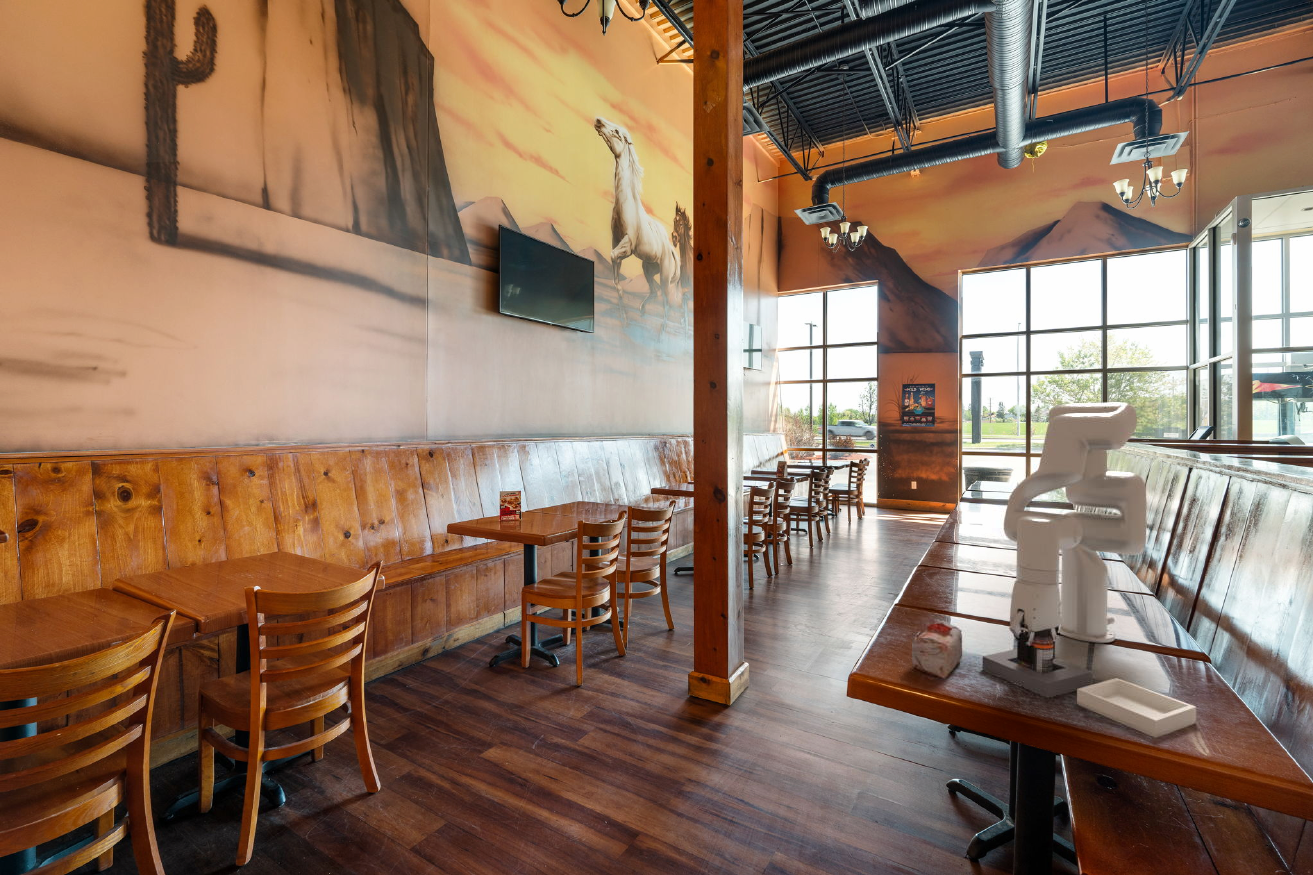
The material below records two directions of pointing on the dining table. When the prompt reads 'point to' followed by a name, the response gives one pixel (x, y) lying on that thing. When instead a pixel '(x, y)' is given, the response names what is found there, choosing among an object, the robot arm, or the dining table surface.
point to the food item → (937, 649)
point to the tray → (1137, 707)
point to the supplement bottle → (1041, 652)
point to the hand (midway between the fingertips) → (1035, 658)
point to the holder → (1038, 674)
